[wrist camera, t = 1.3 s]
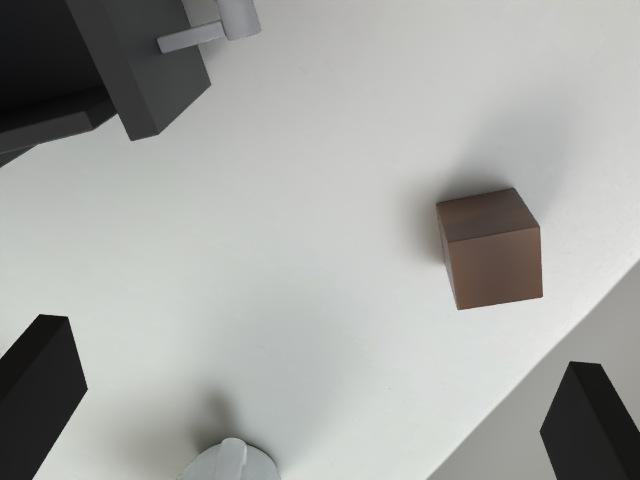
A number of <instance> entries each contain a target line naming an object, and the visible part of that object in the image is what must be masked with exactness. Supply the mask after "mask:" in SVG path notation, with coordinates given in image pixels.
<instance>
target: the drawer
mask: <svg viewBox="0 0 640 480" xmlns="http://www.w3.org/2000/svg"><path fill="white" fill-rule="evenodd" d="M215 2H216V5H217V8H218V11H219V14H220V17H221V20H217V21H214V22H210V23H207V24H203V25H200V26H196V27H193V28H191V27H190V24H189V21H188V18H187V16H186V13H185V10H184V7H183V5H182V2H181V0H0V154H2V153H6V152H10V151H14V150H18V149H22V148H26V147H30V146H33V145H37V144H41V143H45V142H49V141H53V140H57V139H61V138H65V137H69V136H73V135H77V134H81V133H85V132H88V131H92V130H94V129H96V128H97V127H99V126H100V125H102V124H103V123H104V122H106V121H107V120H109V119H110V118H112V117H113V116H115V115H116V114H117V113H118V115H119V117H120V119H121V121H122V123H123V125H124V128H125V130H126V132H127V134H128V136H129V138H130V140H131V141H135V140H139V139H143V138H147V137H151V136H155V135H159V134H160V133H161V132H162V131H163V130H164V129H165V128H166V127H167V126H168V125H169V124H170V123H171V122H172V121H173V120H175V119H176V118H177V117H178V116H179V115H180V114H181V113H182V112H183V111H184V110H185V109H186V108H187V107H188V106H189V105H190V104H192V103H193V102H194V101H195V100H196V99H197V98H198V97H199V96H200V95H201V94H202V93H203V92H204V91H205V90H206V89H207V88H208V87H210V86H211V82H210V79H209V77H208V74H207V71H206V68H205V65H204V63H203V60H202V57H201V54H200V52H199V49H198V46H197V44H199V43H203V42H207V41H210V40H214V39H217V38H221V37H224V36H226V35H227V38H228V40H229V41H233V40H238V39H242V38H245V37H248V36H251V35H254V34H257V33H259V32H260V31H261V27H260V23H259V20H258V16H257V13H256V10H255V6H254V3H253V0H215Z"/></svg>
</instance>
